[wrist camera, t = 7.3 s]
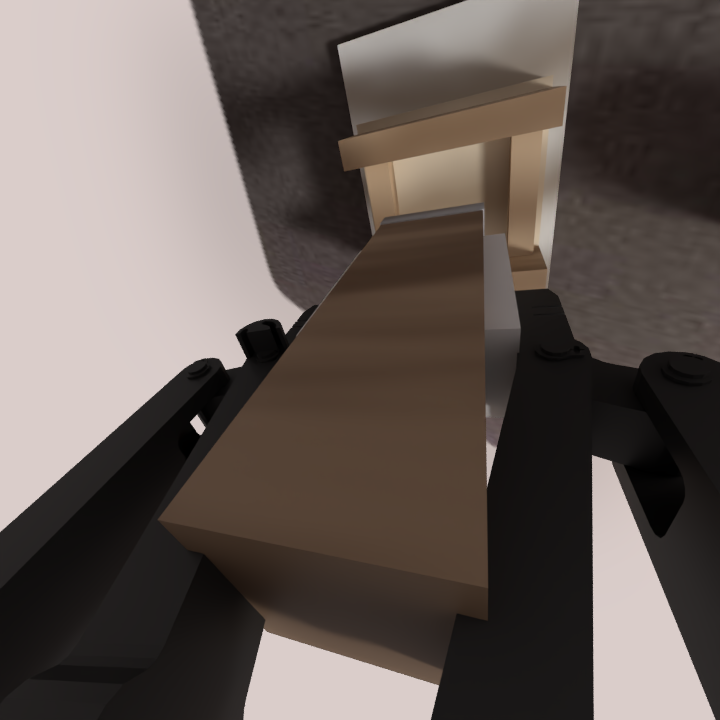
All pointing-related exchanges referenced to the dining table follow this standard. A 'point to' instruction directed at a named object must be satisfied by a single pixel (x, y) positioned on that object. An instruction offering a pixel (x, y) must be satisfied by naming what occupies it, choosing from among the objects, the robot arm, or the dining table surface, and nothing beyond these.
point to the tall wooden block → (364, 459)
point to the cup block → (466, 118)
